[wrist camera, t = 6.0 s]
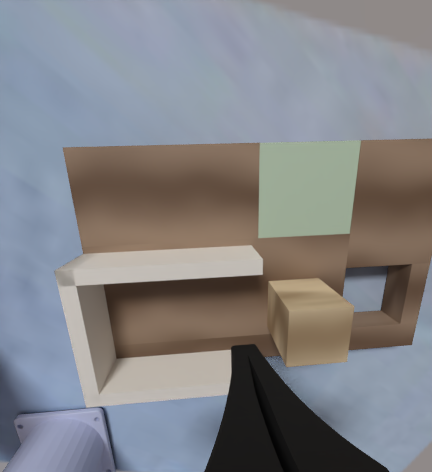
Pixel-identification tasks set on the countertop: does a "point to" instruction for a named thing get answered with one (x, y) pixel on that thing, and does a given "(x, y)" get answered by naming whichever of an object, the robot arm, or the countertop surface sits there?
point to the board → (247, 241)
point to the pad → (306, 188)
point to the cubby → (150, 367)
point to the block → (309, 322)
